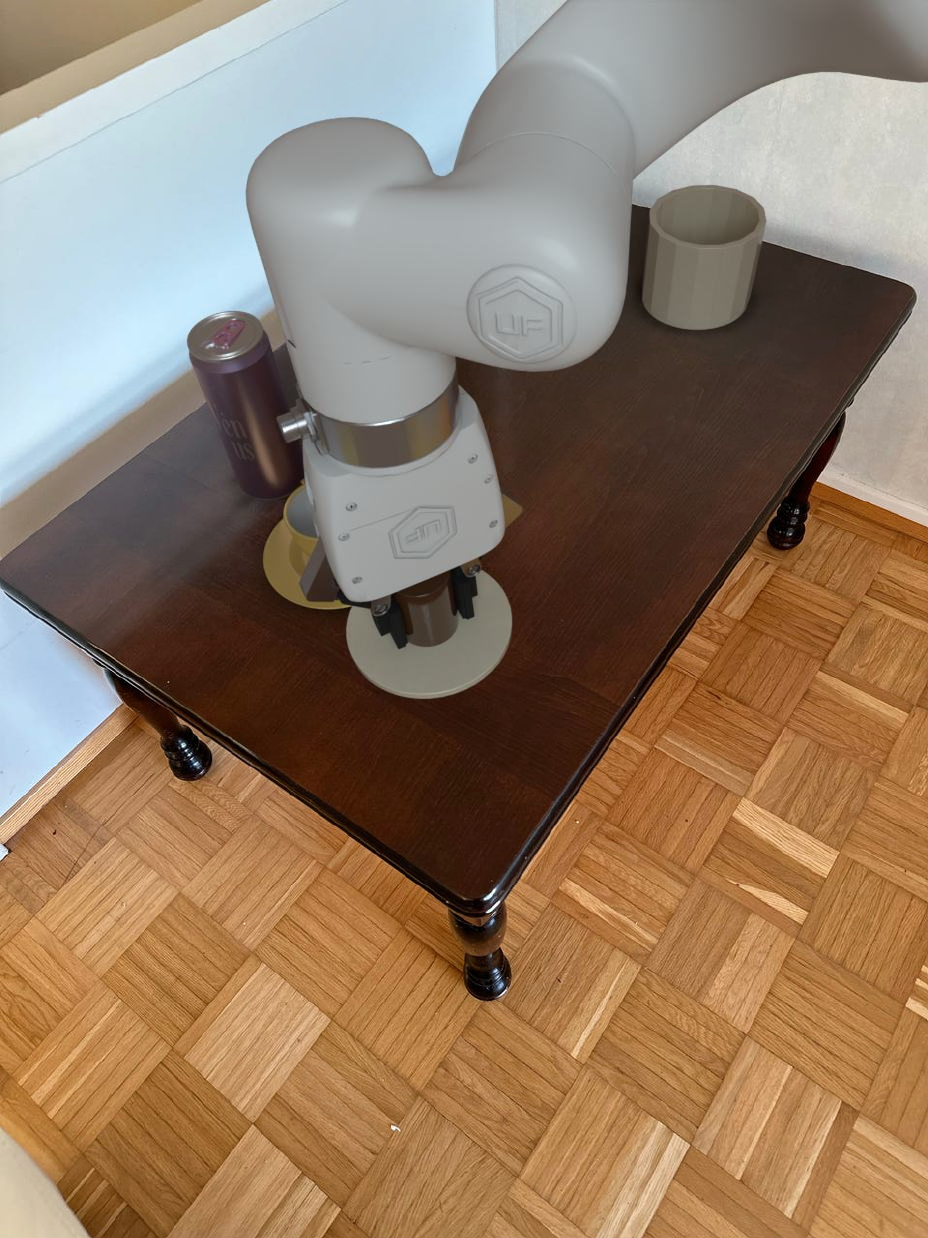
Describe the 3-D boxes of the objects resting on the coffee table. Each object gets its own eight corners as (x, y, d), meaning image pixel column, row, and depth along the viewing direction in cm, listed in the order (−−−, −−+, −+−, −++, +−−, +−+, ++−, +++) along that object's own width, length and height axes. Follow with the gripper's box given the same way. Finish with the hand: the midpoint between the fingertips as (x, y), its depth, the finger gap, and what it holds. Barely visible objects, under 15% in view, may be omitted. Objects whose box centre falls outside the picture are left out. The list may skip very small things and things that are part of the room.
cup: (438, 571, 71) (431, 525, 67) (297, 636, 68) (280, 593, 64) (374, 477, 77) (364, 429, 73) (243, 533, 75) (224, 487, 70)
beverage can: (321, 464, 79) (280, 318, 67) (285, 512, 76) (236, 368, 64) (263, 447, 81) (213, 301, 68) (226, 493, 78) (167, 349, 65)
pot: (743, 265, 91) (759, 183, 84) (753, 329, 85) (771, 247, 78) (640, 266, 92) (648, 185, 85) (642, 330, 86) (651, 249, 79)
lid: (517, 569, 63) (513, 503, 58) (508, 706, 57) (502, 647, 51) (362, 567, 64) (344, 502, 59) (336, 701, 58) (313, 643, 53)
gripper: (243, 513, 41) (327, 714, 56) (571, 385, 44) (568, 608, 59) (199, 414, 45) (289, 626, 60) (502, 304, 48) (516, 531, 63)
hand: (427, 615), depth 59 cm, fingers closed on lid, 4 cm apart
